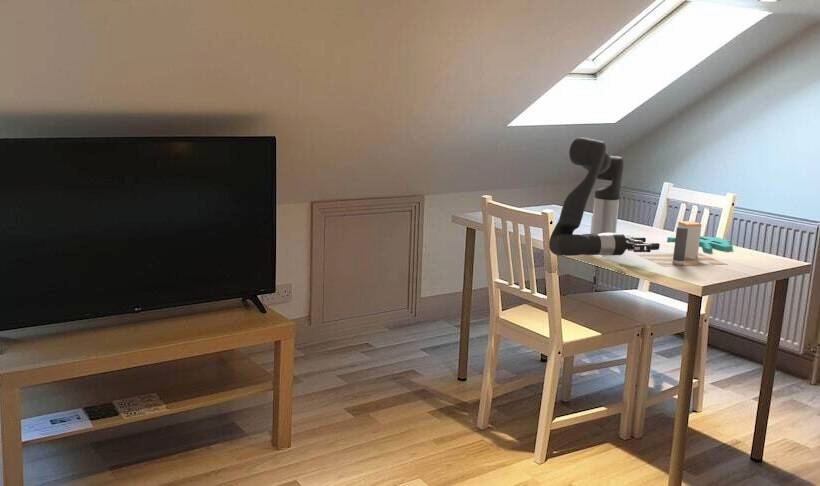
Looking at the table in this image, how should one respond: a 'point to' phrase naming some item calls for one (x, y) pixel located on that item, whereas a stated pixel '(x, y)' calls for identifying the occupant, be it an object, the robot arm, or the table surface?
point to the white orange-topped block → (691, 237)
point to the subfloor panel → (688, 261)
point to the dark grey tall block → (680, 246)
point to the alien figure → (710, 243)
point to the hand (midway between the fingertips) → (651, 243)
